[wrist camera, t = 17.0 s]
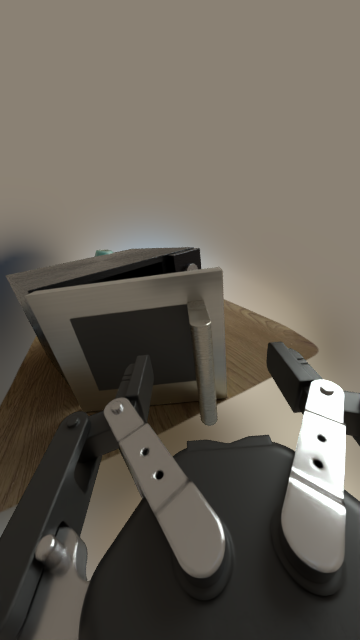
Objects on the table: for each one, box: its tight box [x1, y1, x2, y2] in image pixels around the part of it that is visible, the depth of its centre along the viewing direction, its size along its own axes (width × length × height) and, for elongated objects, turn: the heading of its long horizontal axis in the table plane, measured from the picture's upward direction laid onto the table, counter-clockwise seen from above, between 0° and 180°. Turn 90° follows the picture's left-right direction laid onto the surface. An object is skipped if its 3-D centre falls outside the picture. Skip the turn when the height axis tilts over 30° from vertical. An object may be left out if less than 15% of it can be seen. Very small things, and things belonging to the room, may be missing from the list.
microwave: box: [6, 247, 201, 388], centre depth 41 cm, size 24×28×18 cm
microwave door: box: [25, 267, 227, 426], centre depth 22 cm, size 8×21×18 cm, turn 91°
